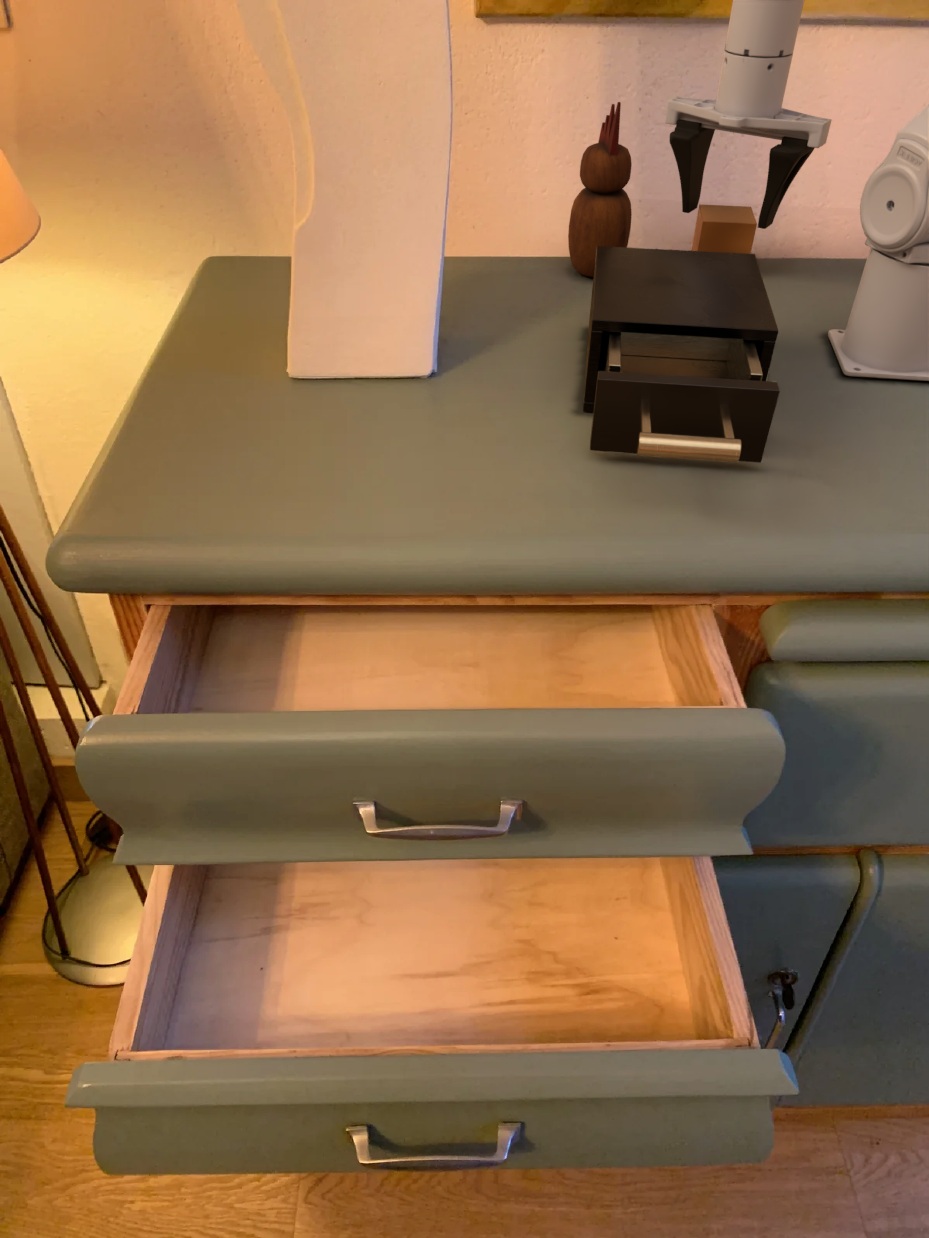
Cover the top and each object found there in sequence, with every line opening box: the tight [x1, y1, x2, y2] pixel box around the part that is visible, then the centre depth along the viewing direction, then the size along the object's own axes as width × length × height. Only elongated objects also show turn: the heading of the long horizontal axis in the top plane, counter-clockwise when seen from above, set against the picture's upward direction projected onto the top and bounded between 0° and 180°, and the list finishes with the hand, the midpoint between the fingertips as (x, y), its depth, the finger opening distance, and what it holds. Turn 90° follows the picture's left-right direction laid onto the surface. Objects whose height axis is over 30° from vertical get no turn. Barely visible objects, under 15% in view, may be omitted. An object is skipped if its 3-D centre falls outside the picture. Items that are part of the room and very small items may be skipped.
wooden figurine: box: [567, 101, 633, 278], centre depth 82 cm, size 7×6×15 cm
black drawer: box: [589, 331, 781, 463], centre depth 61 cm, size 19×11×5 cm, turn 172°
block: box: [690, 203, 758, 254], centre depth 87 cm, size 5×5×5 cm
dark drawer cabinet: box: [582, 246, 780, 413], centre depth 69 cm, size 15×13×7 cm
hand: (726, 217), depth 85 cm, fingers open, 7 cm apart
